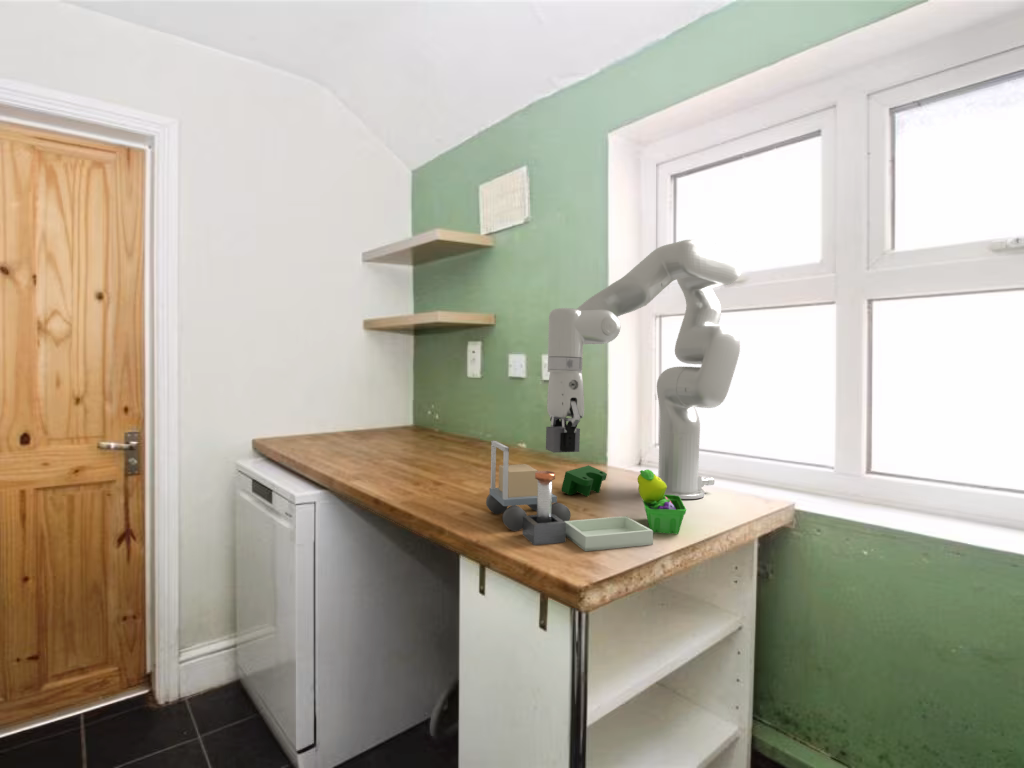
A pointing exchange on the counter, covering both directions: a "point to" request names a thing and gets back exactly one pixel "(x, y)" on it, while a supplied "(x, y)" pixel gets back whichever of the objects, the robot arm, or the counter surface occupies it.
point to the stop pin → (544, 495)
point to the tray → (608, 533)
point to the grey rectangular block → (559, 439)
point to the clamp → (583, 480)
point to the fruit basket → (660, 504)
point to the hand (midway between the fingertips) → (562, 448)
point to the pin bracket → (544, 530)
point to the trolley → (516, 491)
